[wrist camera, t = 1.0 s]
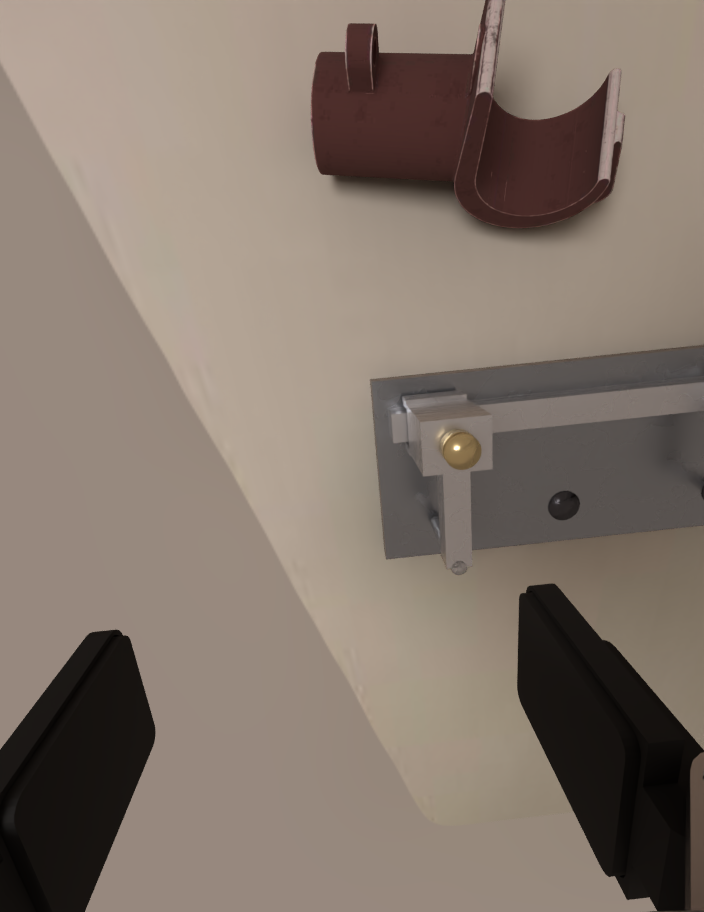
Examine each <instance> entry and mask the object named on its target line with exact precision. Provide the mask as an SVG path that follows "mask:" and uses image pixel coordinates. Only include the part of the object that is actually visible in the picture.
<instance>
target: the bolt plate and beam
mask: <svg viewBox="0 0 704 912" xmlns="http://www.w3.org/2000/svg"><path fill="white" fill-rule="evenodd" d="M370 385H371V397H372V409H373V420H374V432H375V444H376V456H377V468H378V479H379V491H380V503H381V515H382V527H383V539H384V550H385V556H386V559H394V558H403V557H412V556H422V555H431V554H440V553H441V550H440V544H439V542H438V540H437V538H436V536H435V533H434V531H433V529H432V527H431V525H430V520H431V519H432V518H433V517H435V516H439V503H438V480H437V475H433V476H424V477H423V475H422V473H421V472H420V470H419V468H418V466H417V464H416V463H415V461H414V459H413V457H412V455H411V456H409V454H408V452H407V450H406V447H405V442H409V440H408V424H407V409H406V408H405V407H404V405H403V400H402V396H408V395H417V394H427V393H436V392H446V391H456V390H460V391H462V392H464V393H465V394H467V399H468V400H470V401H471V402H473V403H474V404H476V405H478V406H479V407H481V408H482V409H484V410H485V411H487V412H489V413H490V414H492V460H493V469H490V470H481V471H471V472H470V481H471V532H472V550H477V549H487V548H496V547H505V546H515V545H524V544H533V543H543V542H552V541H561V540H570V539H580V538H589V537H598V536H608V535H617V534H626V533H636V532H645V531H654V530H663V529H673V528H682V527H691V526H701V525H704V345H699V346H690V347H680V348H670V349H661V350H651V351H641V352H632V353H622V354H612V355H602V356H593V357H583V358H573V359H564V360H554V361H544V362H535V363H525V364H515V365H506V366H496V367H486V368H477V369H467V370H457V371H448V372H438V373H428V374H419V375H409V376H399V377H390V378H380V379H370Z"/></svg>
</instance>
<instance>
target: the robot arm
mask: <svg viewBox="0 0 704 912" xmlns="http://www.w3.org/2000/svg"><path fill="white" fill-rule="evenodd" d="M517 689H518V695H519V699H520V702H521V705H522V707H523V709H524V711H525V713H526V715H527V717H528V719H529V721H530V723H531V725H532V727H533V729H534V731H535V733H536V735H537V737H538V740H539V742H540V744H541V746H542V748H543V750H544V752H545V754H546V756H547V758H548V760H549V762H550V764H551V766H552V768H553V770H554V772H555V774H556V776H557V778H558V780H559V782H560V784H561V787H562V789H563V791H564V793H565V795H566V797H567V799H568V801H569V803H570V805H571V807H572V809H573V811H574V813H575V815H576V817H577V819H578V821H579V823H580V825H581V827H582V829H583V831H584V833H585V835H586V838H587V840H588V841H589V843H590V846H591V848H592V850H593V852H594V854H595V856H596V858H597V860H598V862H599V864H600V866H601V868H602V869H603V871H604V872H605V874H606V875H607V876H609V877H611V876H615V877H616V879H617V881H618V883H619V885H620V887H621V889H622V890H623V893H624V894H625V897H626V899H627V900H629V899H638V898H647V897H650V899H651V900H652V902H653V904H654V906H655V908H656V909H657V911H652V912H704V750H703V749H702V748H701V746H700V745H699V744H698V743H697V742H696V741H695V739H694V738H693V737H692V736H691V735H690V734H689V732H688V731H687V730H686V729H685V728H684V727H683V725H682V724H681V723H680V722H679V721H678V720H677V718H676V717H675V716H674V715H673V714H672V713H671V711H670V710H669V709H668V708H667V707H666V706H665V704H664V703H663V702H662V701H661V700H660V699H659V697H658V696H657V695H656V694H655V693H654V692H653V690H652V689H651V688H650V687H649V686H648V685H647V683H646V682H645V681H644V680H643V679H642V678H641V676H640V675H639V674H638V673H637V672H636V671H635V669H634V668H633V667H632V666H631V665H630V664H629V662H628V661H627V660H626V659H625V658H624V657H623V655H622V654H621V653H620V652H619V651H618V650H617V648H616V647H615V646H613V645H612V644H611V643H610V642H608V641H606V640H602V639H601V638H600V637H599V636H598V634H597V633H596V632H595V631H594V630H593V628H592V627H591V626H590V625H589V624H588V622H587V621H586V620H585V619H584V618H583V616H582V615H581V614H580V613H579V612H578V610H577V609H576V608H575V607H574V606H573V604H572V603H571V602H570V601H569V600H568V598H567V597H566V596H565V595H564V594H563V592H562V591H561V590H560V589H559V588H558V587H557V586H556V585H555V584H543V585H534V586H529V587H528V588H527V590H526V593H522V594H520V597H519V632H518V677H517ZM154 740H155V725H154V721H153V718H152V715H151V711H150V707H149V704H148V700H147V697H146V693H145V690H144V686H143V683H142V679H141V676H140V672H139V669H138V665H137V662H136V658H135V655H134V651H133V648H132V644H131V641H130V639H129V637H128V636H123V635H122V633H121V632H120V631H119V630H109V631H99V632H92V633H90V634H89V635H87V637H86V638H85V639H84V640H83V642H82V643H81V644H80V645H79V647H78V648H77V649H76V651H75V652H74V653H73V655H72V656H71V657H70V659H69V660H68V661H67V663H66V664H65V665H64V667H63V668H62V669H61V671H60V672H59V673H58V674H57V676H56V677H55V679H54V680H53V681H52V682H51V684H50V685H49V686H48V688H47V689H46V690H45V692H44V693H43V694H42V695H41V697H40V698H39V700H38V701H37V702H36V703H35V705H34V706H33V707H32V709H31V710H30V711H29V713H28V714H27V715H26V717H25V718H24V719H23V721H22V722H21V723H20V724H19V726H18V727H17V729H16V730H15V731H14V732H13V734H12V735H11V736H10V738H9V739H8V740H7V742H6V743H5V744H4V746H3V747H2V748H1V750H0V912H85V910H86V907H87V905H88V903H89V900H90V898H91V895H92V893H93V890H94V888H95V885H96V883H97V881H98V878H99V876H100V873H101V871H102V869H103V866H104V864H105V861H106V859H107V856H108V854H109V852H110V849H111V847H112V844H113V842H114V839H115V837H116V835H117V832H118V829H119V827H120V825H121V822H122V820H123V818H124V815H125V813H126V810H127V808H128V805H129V803H130V801H131V798H132V796H133V793H134V791H135V788H136V786H137V784H138V781H139V779H140V776H141V774H142V772H143V769H144V767H145V764H146V762H147V759H148V757H149V755H150V752H151V750H152V747H153V744H154Z"/></svg>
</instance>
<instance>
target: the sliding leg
mask: <svg viewBox="0 0 704 912" xmlns="http://www.w3.org/2000/svg"><path fill="white" fill-rule="evenodd" d="M402 400H403V405H404V407H405V408H406V409H407V424H408V440H409V442H405V447H406V450H407V452H408V454H409V456H411V455H412V457H413V459H414V461H415V463H416V464H417V466H418V468H419V470H420V472H421V473H422V475H423V477H424V476H433V475H437V480H438V503H439V516H435V517H433V518H432V519H431V520H430V525H431V527H432V529H433V531H434V533H435V536H436V538H437V540H438V542H439V544H440V550H441V558H442V560H443V562H444V564H445V567H446V569H451V570H452V572H453V573H454V574H456V575H461V574H464V573H465V572H466V570H467V567H472V532H471V481H470V472H471V471H481V470H490V469H493V460H492V414H490V413H489V412H487V411H485V410H484V409H482V408H481V407H479V406H478V405H476V404H474V403H473V402H471V401H470V400H468V399H467V394H465V393H464V392H462V391H460V390H456V391H446V392H436V393H427V394H417V395H408V396H402Z"/></svg>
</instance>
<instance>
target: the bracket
mask: <svg viewBox="0 0 704 912" xmlns="http://www.w3.org/2000/svg"><path fill="white" fill-rule="evenodd" d="M504 6H505V0H486V1H485V5H484V10H483V14H482V19H481V23H480V24H479V29H478V36H477V41H476V45H475V49H474V53H473V54H417V53H379V47H378V31H377V25H376V24H352V23H349V24H348V27H347V31H346V42H345V52H321V53H319V55H318V57H317V60H316V63H315V67H314V73H313V81H312V93H311V128H312V141H313V149H314V155H315V160H316V164H317V167H318V170H319V172H320V173H321V174H323V175H339V176H358V177H377V178H396V179H414V180H433V181H452V182H454V189H455V194H456V197H457V199H458V201H459V203H460V204H461V206H462V207H463V208H464V209H465V210H466V211H467V212H468V213H469V214H471V215H472V216H474V217H475V218H477V219H479V220H481V221H484V222H486V223H489V224H492V225H496V226H501V227H509V228H531V227H539V226H544V225H549V224H553V223H556V222H559V221H562V220H565V219H567V218H570V217H572V216H574V215H576V214H578V213H579V212H581V211H583V210H584V209H586V208H587V207H589V206H590V205H591V204H593V203H596V202H599V201H601V200H603V199H605V198H606V197H608V196H609V195H610V194H611V192H612V190H613V187H614V182H615V177H616V172H617V167H618V163H619V158H620V153H621V148H622V141H623V131H624V121H625V115H624V114H623V113H621V112H619V111H618V100H619V91H620V81H621V69H619V68H616V69H613V70H612V71H610V73H609V74H608V76H607V78H606V80H605V81H604V83H603V84H602V86H601V87H600V88H599V89H598V91H597V92H596V93H595V94H594V95H593V96H592V97H591V98H590V99H588V100H587V101H586V102H585V103H583V104H582V105H580V106H579V107H577V108H575V109H574V110H572V111H570V112H568V113H565V114H563V115H560V116H557V117H554V118H549V119H543V120H528V119H522V118H518V117H515V116H513V115H511V114H509V113H507V112H506V111H504V110H503V109H502V108H501V107H500V106H499V105H498V104H497V103H496V101H495V100H494V98H493V91H494V83H495V76H496V68H497V60H498V53H499V45H500V37H501V29H502V22H503V14H504Z"/></svg>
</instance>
